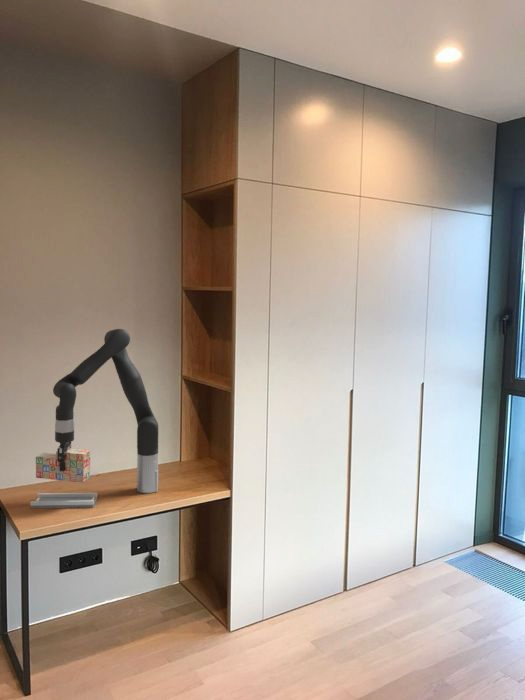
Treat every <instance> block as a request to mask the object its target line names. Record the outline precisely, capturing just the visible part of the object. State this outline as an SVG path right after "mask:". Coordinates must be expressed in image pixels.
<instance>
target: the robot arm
mask: <svg viewBox="0 0 525 700" xmlns="http://www.w3.org/2000/svg"><path fill="white" fill-rule="evenodd" d="M130 342H131V336H130V334H129V332H128V331H127V330H125V329H122V328H115V329H111V330H108V331H107V332H106V333H105V335H104V344H103V345H102V346H100V348H98V349H97V350H96V351H95V352H93V353H92V354H91V355H89V356H88V357H86V358H85V359H84V360H83V361H81V362H80V364H79V365H77V366H76V367H75V368H74V369H73V370H72V371H71V372H70V373H67V374H66V375H65V376H63V377H62V378H60V379H59V380H58V381H57V382H56V383H54V386H53V388H52V391H53V395H54V396H55V397H57V398H59V401H58V405H57V406H55V423H54V440H55V442H56V443H59V446H58V448H57V450H56V451H58V462H60V471H65V462H66V456H67V454H65V455H64V452H68V450H69V449H70V448H72V442H73V441H75V422H74V421H75V420H74V408H75V404H76V399H77V389H76V387H77V386H81V385H84V384H85V383H86V382H87V381H88V380H89V379H90V378H92V376H93V375H94V374H95V373H97V372H98V371H99V369H101V368H102V367H103V366H104V365H105V364H106V363H107V362H108V361H109V360H111V359H112V362H113V364H114V368H115V370H116V374H117V377H118V379H119V382H120V385H121V388H122V390H123V394H124V395H125V398H126V399H127V402H128V403H129V405H130V406H131V408H132V410H133V412H134V415H135V419H136V422H137V432H136V435H137V436H136V438H137V439H136V440H137V441H136V448H137V450H136V451H137V453H136V461H137V463H136V466H137V467H136V471H137V472H136V483H137V484H136V491H137V492H138V493H140V494H153V493H157V492H158V489H159V423H158V421H157V418H156V416H155V415H154V413H153V411H152V408H151V406H150V403H149V399H148V394H147V392H146V388H145V384H144V381H143V379H142V376H141V373H140V372H139V370H138V368H137V367H136V366H135V364H134V363H133V362H132V360H131V359H130V357H129V354H128V351H127V347H128V346H129V344H130ZM61 457H63V459H61Z"/></svg>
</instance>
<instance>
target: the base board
mask: <svg viewBox="0 0 525 700" xmlns="http://www.w3.org/2000/svg"><path fill="white" fill-rule="evenodd" d="M97 500H98V492H46V493H45V492H44V493H43V492H42V493H41V492H40V493H39V492H38V493H36V498H35V499H34V500H31V501H30V509H68V508H69V509H77V508H78V507H79V509H80V508H81V509H82V508H85V509H86V508H94V506H95V504H96V503H97ZM70 507H71V508H70ZM74 507H75V508H74Z"/></svg>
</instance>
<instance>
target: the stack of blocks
mask: <svg viewBox="0 0 525 700" xmlns="http://www.w3.org/2000/svg"><path fill="white" fill-rule="evenodd" d="M65 454H67V456H66V462H65V471H60V462H58V450H56V451H55V453H48V452H42V453H39V454H38V455H37V456H35V478H36V479H45V480H54V481H64V482H73V483H81V484H84V482H86V481H88V480H89V479H91V450H89V449H83V448H72V447H71V448H70V449H69V450H68V452H64V455H65ZM61 459H63V457H61Z"/></svg>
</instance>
